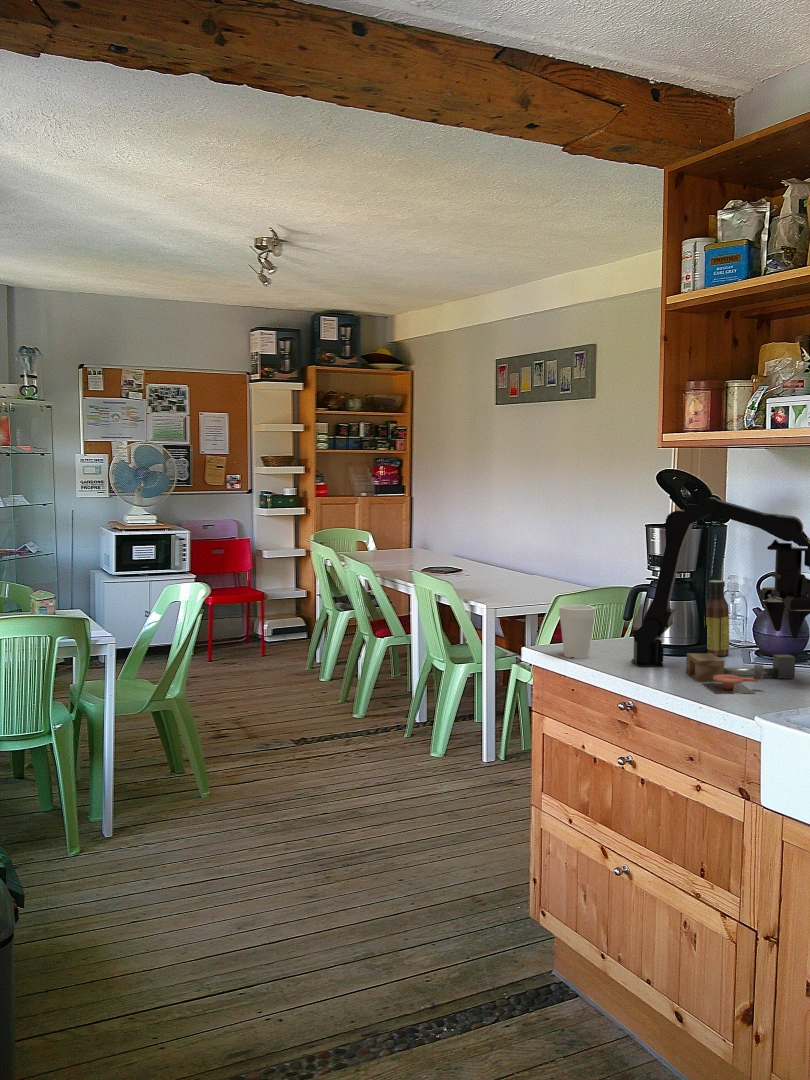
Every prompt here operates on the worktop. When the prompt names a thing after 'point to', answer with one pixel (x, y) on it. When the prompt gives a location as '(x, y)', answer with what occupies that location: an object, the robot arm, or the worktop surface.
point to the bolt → (781, 668)
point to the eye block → (704, 666)
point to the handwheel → (739, 678)
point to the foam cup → (576, 629)
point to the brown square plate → (718, 689)
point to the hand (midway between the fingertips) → (785, 634)
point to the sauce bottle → (717, 620)
